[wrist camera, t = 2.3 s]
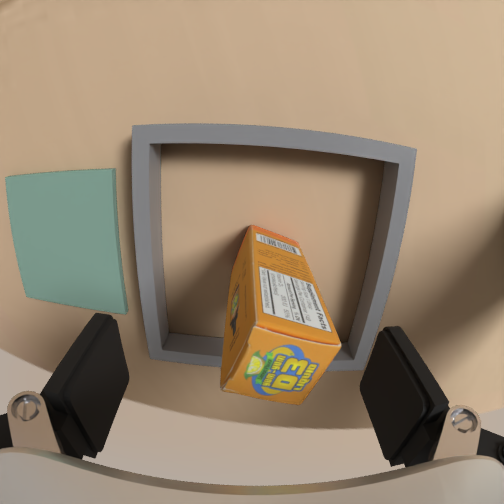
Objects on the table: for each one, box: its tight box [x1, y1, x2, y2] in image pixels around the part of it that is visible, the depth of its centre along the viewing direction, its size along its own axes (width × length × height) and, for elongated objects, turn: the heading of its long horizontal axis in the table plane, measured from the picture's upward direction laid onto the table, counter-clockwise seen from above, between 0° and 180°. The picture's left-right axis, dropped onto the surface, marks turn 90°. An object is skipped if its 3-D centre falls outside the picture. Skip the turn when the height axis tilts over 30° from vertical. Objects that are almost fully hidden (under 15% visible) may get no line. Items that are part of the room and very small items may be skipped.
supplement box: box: [220, 225, 342, 405], centre depth 14 cm, size 3×3×10 cm
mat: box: [5, 168, 128, 314], centre depth 18 cm, size 10×10×1 cm
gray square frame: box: [132, 124, 417, 371], centre depth 17 cm, size 15×15×2 cm
